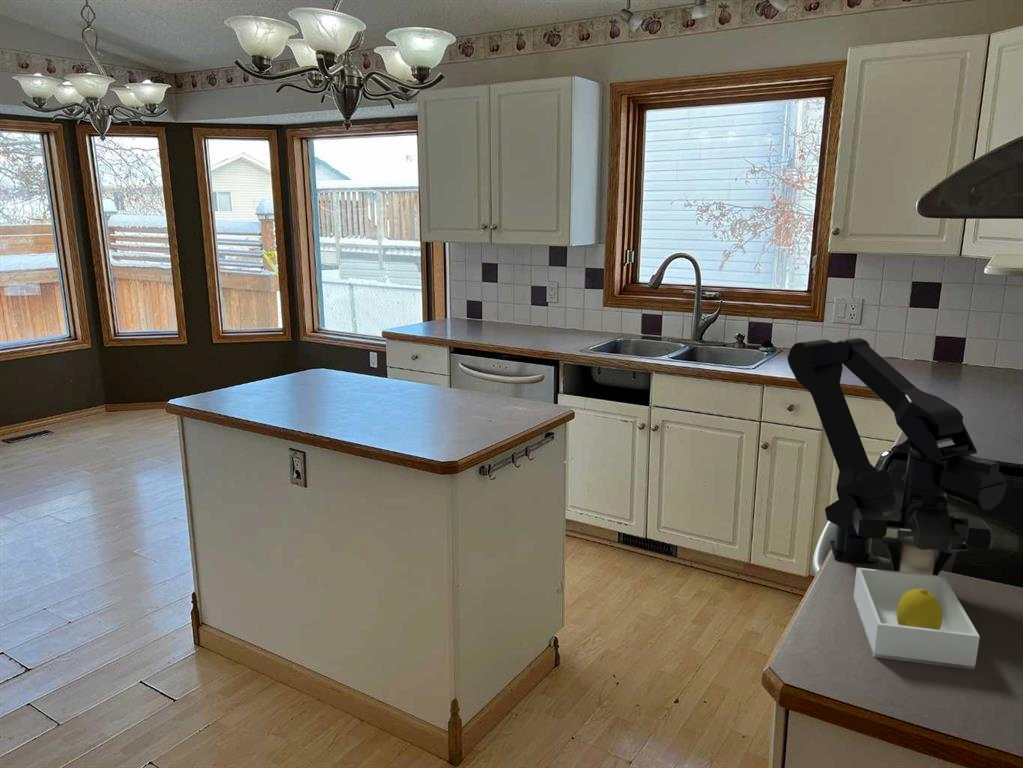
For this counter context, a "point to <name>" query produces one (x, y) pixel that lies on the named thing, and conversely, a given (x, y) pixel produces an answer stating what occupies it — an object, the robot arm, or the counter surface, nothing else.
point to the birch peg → (915, 558)
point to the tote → (914, 644)
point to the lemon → (919, 610)
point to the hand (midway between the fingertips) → (913, 576)
